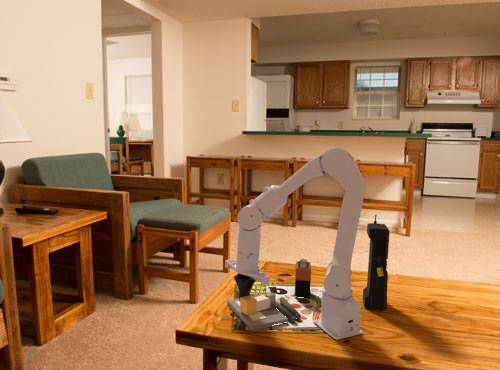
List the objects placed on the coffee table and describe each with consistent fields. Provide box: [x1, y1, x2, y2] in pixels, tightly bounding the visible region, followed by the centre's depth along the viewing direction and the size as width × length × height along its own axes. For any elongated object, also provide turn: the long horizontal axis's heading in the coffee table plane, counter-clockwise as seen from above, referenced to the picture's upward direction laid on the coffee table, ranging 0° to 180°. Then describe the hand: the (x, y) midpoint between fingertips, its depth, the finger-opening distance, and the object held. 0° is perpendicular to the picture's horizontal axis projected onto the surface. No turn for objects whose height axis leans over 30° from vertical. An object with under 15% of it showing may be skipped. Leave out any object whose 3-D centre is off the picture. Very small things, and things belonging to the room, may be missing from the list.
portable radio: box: [362, 214, 391, 311], centre depth 108 cm, size 8×6×25 cm
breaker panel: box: [226, 294, 289, 332], centre depth 104 cm, size 16×11×2 cm
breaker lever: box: [240, 291, 277, 315], centre depth 103 cm, size 3×10×4 cm, turn 125°
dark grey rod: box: [275, 300, 297, 323], centre depth 105 cm, size 16×2×2 cm, turn 25°
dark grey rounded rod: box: [279, 297, 302, 320], centre depth 105 cm, size 12×2×2 cm, turn 19°
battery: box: [294, 258, 312, 299], centre depth 116 cm, size 4×7×10 cm, turn 173°
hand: (244, 301), depth 102 cm, fingers closed, pressing on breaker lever
